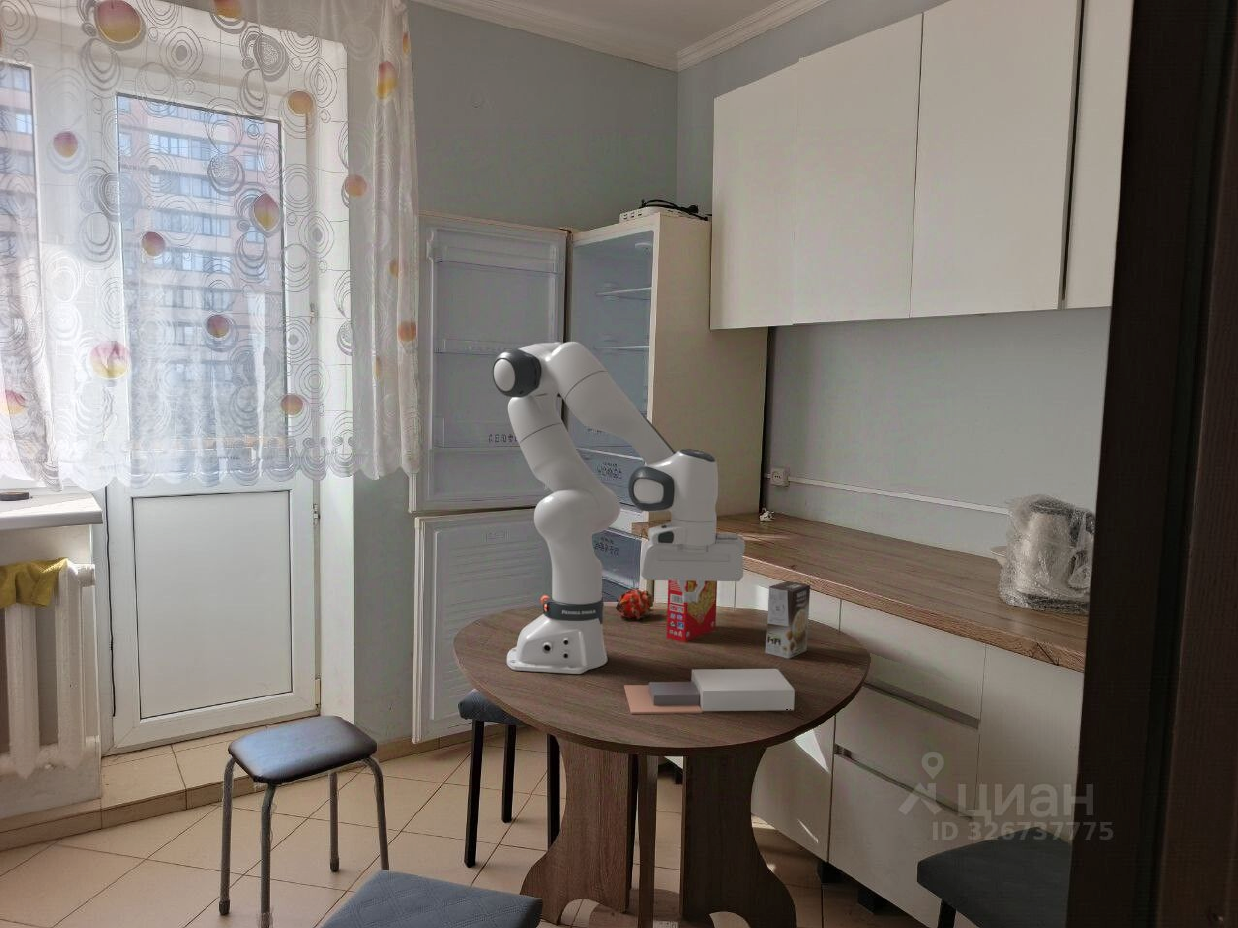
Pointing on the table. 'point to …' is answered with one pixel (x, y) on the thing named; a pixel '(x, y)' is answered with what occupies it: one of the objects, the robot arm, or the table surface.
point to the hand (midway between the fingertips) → (690, 601)
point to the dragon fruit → (634, 603)
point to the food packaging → (690, 611)
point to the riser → (743, 689)
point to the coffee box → (787, 619)
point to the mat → (643, 703)
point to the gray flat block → (673, 693)
